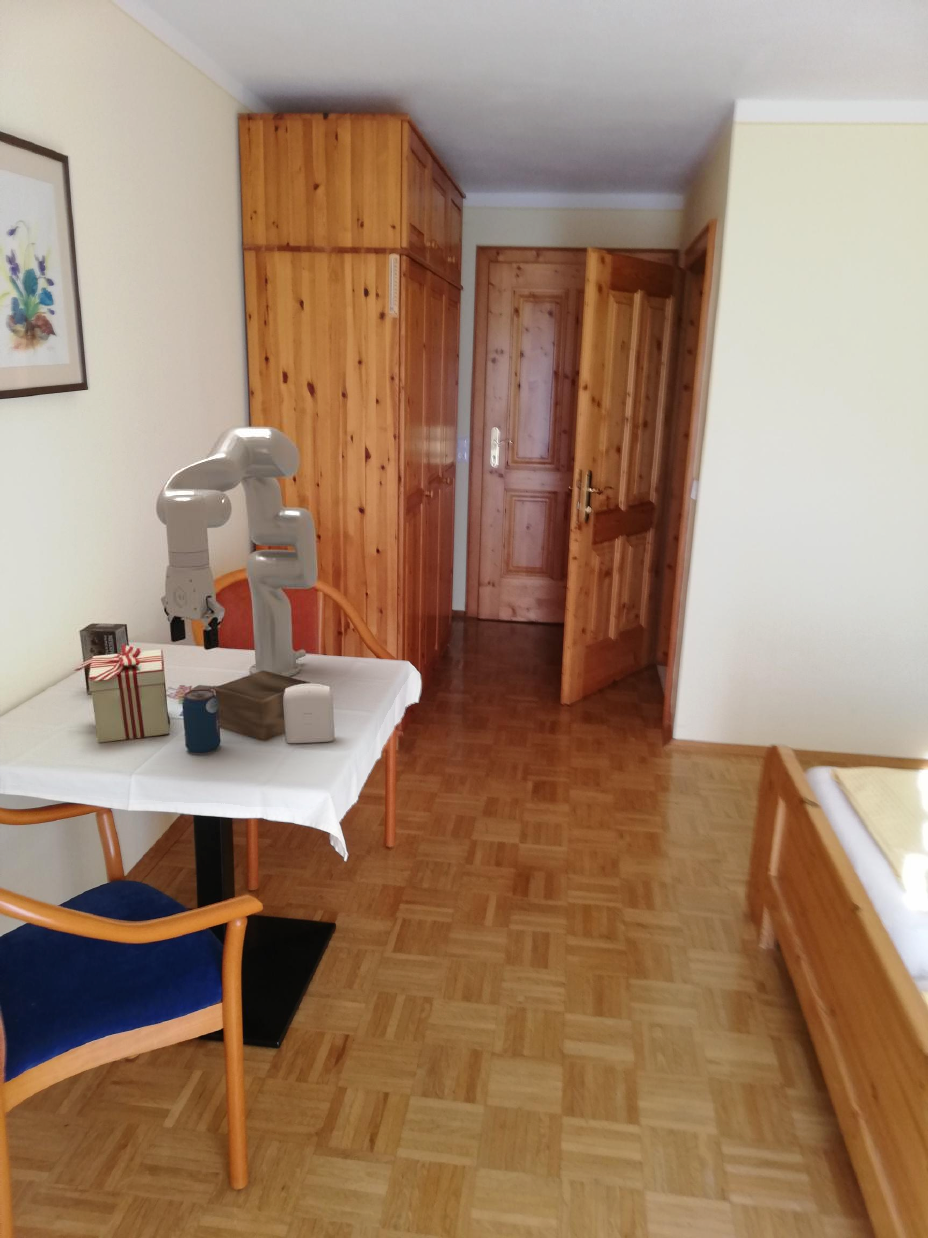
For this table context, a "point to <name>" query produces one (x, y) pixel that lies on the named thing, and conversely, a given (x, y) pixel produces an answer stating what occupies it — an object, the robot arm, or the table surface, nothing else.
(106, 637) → the coffee box
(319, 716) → the photo printer
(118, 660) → the gift box
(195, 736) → the soda can
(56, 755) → the table surface
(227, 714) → the walnut box
